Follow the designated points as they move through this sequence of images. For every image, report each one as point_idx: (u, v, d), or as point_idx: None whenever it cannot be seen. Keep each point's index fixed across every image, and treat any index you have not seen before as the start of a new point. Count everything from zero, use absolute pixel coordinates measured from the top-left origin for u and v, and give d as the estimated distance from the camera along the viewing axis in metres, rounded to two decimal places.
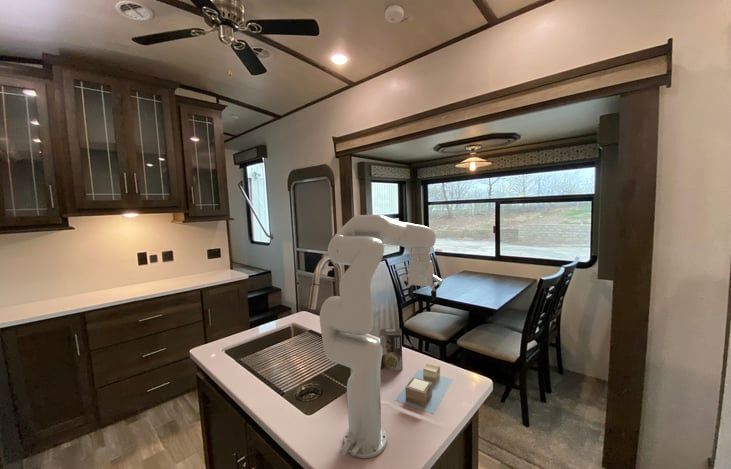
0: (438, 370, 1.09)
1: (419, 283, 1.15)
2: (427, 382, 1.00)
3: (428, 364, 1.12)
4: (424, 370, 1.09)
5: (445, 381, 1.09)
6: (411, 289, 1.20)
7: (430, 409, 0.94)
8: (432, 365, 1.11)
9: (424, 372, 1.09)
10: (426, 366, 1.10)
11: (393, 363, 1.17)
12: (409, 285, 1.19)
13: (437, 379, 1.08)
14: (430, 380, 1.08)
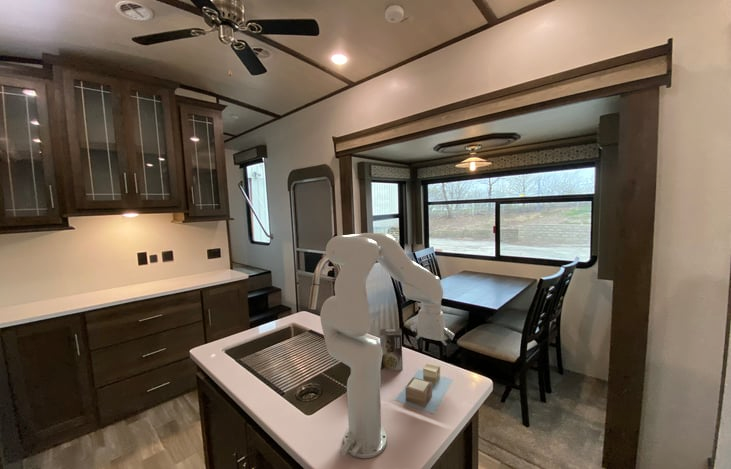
0: (438, 370, 1.09)
1: (429, 336, 1.07)
2: (427, 382, 1.00)
3: (428, 364, 1.12)
4: (424, 370, 1.09)
5: (445, 381, 1.09)
6: (420, 340, 1.12)
7: (430, 409, 0.94)
8: (432, 365, 1.11)
9: (424, 372, 1.09)
10: (426, 366, 1.10)
11: (393, 363, 1.17)
12: (418, 336, 1.11)
13: (437, 379, 1.08)
14: (430, 380, 1.08)
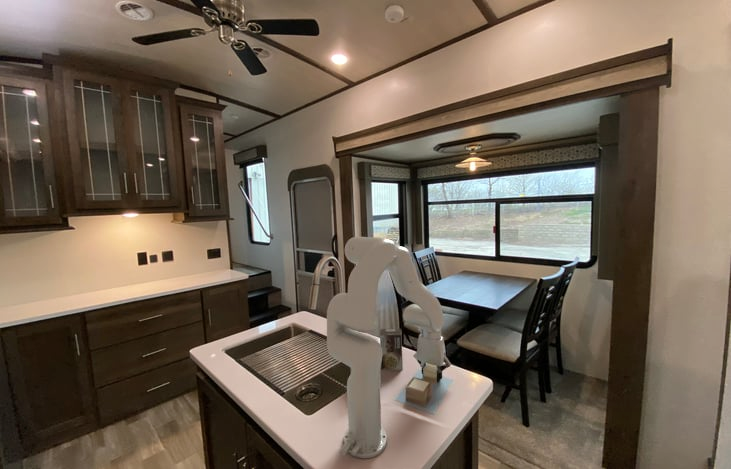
0: None
1: (429, 362, 1.07)
2: (427, 382, 1.00)
3: (428, 364, 1.12)
4: (424, 370, 1.09)
5: (445, 381, 1.09)
6: None
7: (430, 409, 0.94)
8: (432, 365, 1.11)
9: (424, 372, 1.09)
10: (426, 366, 1.10)
11: (393, 363, 1.17)
12: (422, 364, 1.10)
13: None
14: (430, 380, 1.08)
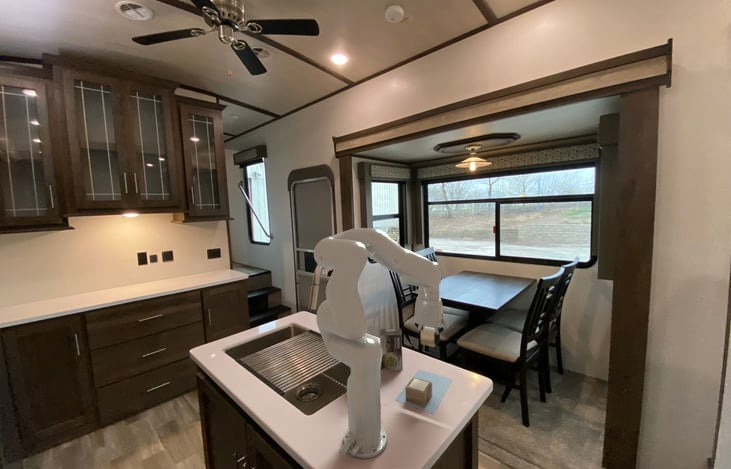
0: None
1: (427, 323, 1.05)
2: (427, 382, 1.00)
3: (426, 328, 1.09)
4: (422, 333, 1.06)
5: (445, 381, 1.09)
6: None
7: (430, 409, 0.94)
8: (430, 328, 1.08)
9: (422, 335, 1.06)
10: (424, 329, 1.08)
11: (393, 363, 1.17)
12: (420, 327, 1.08)
13: None
14: (428, 343, 1.05)
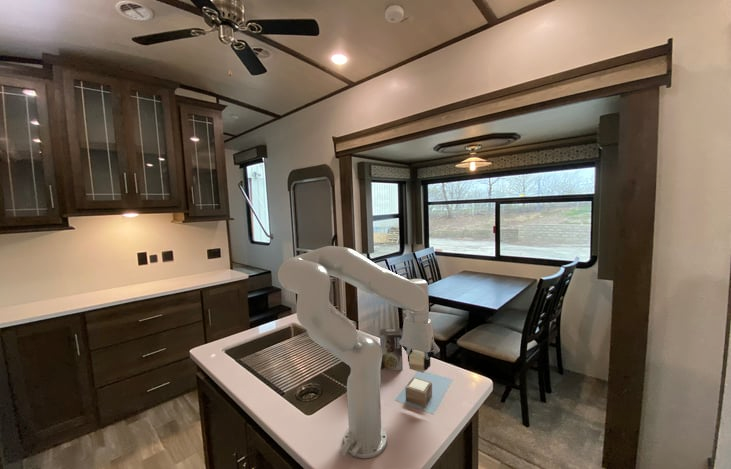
0: None
1: (415, 347, 0.96)
2: (427, 382, 1.00)
3: (415, 350, 1.00)
4: (410, 357, 0.97)
5: (445, 381, 1.09)
6: None
7: (430, 409, 0.94)
8: (419, 351, 0.99)
9: (410, 359, 0.97)
10: (413, 353, 0.99)
11: (393, 363, 1.17)
12: (408, 351, 0.99)
13: None
14: (417, 368, 0.96)
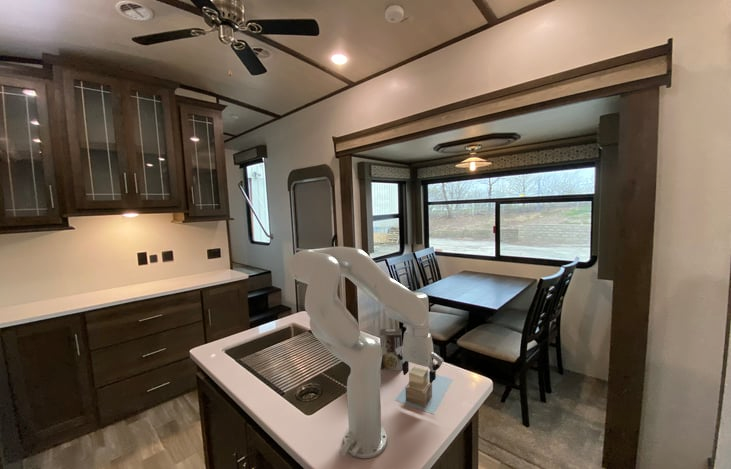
0: (426, 374, 0.98)
1: (415, 361, 0.96)
2: None
3: (415, 368, 1.00)
4: (410, 374, 0.98)
5: (445, 381, 1.09)
6: (406, 365, 1.01)
7: (430, 409, 0.94)
8: (419, 369, 1.00)
9: (410, 377, 0.98)
10: (412, 370, 0.99)
11: (393, 363, 1.17)
12: (403, 361, 1.00)
13: (424, 384, 0.97)
14: (416, 386, 0.97)
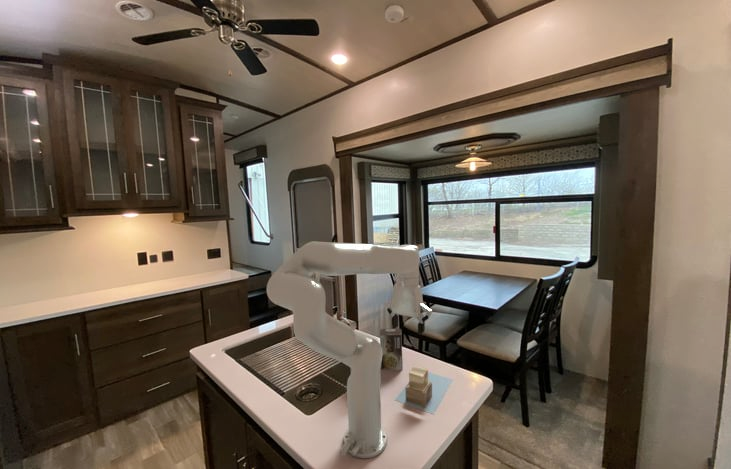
0: (426, 374, 0.98)
1: (404, 313, 0.95)
2: None
3: (415, 368, 1.00)
4: (410, 374, 0.98)
5: (445, 381, 1.09)
6: (395, 319, 1.00)
7: (430, 409, 0.94)
8: (419, 369, 1.00)
9: (410, 377, 0.98)
10: (412, 370, 0.99)
11: (393, 363, 1.17)
12: (393, 314, 0.99)
13: (424, 384, 0.97)
14: (416, 386, 0.97)
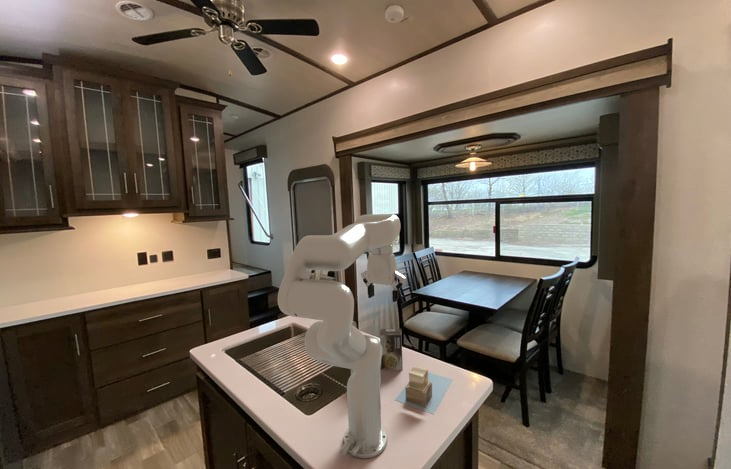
0: (426, 374, 0.98)
1: (378, 281, 0.96)
2: None
3: (415, 368, 1.00)
4: (410, 374, 0.98)
5: (445, 381, 1.09)
6: (371, 288, 1.01)
7: (430, 409, 0.94)
8: (419, 369, 1.00)
9: (410, 377, 0.98)
10: (412, 370, 0.99)
11: (393, 363, 1.17)
12: (368, 283, 1.00)
13: (424, 384, 0.97)
14: (416, 386, 0.97)
